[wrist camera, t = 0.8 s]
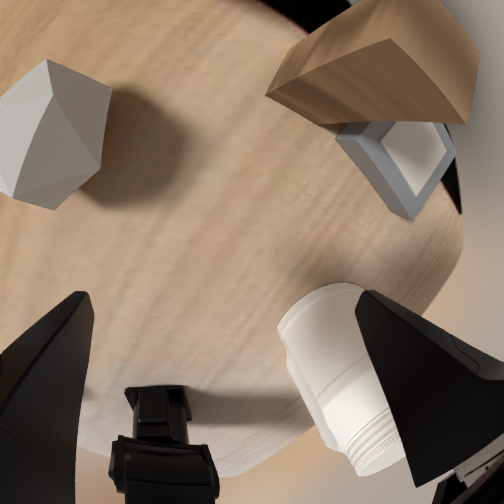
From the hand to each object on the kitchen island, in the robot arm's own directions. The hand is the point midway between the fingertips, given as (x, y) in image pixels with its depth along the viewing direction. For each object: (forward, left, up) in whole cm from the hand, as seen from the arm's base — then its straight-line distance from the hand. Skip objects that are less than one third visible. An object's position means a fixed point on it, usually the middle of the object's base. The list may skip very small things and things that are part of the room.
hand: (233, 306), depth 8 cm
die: (+6, +10, -12) cm, 17 cm away
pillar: (+9, -7, -12) cm, 17 cm away
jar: (-13, -11, -12) cm, 21 cm away
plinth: (+6, -16, -12) cm, 21 cm away
